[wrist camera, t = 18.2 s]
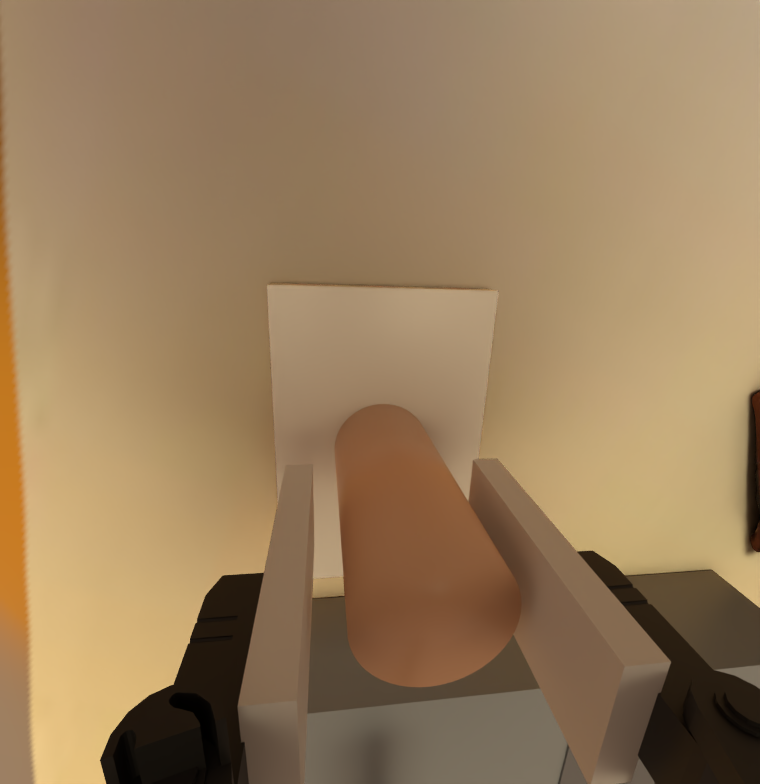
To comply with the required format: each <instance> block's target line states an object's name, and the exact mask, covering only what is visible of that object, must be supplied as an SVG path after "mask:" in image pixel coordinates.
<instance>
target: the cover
mask: <svg viewBox="0 0 760 784" xmlns="http://www.w3.org/2000/svg"><path fill="white" fill-rule="evenodd" d="M498 292H499V291H496V290H491V289H466V288H429V287H393V286H356V285H320V284H283V283H270V284H268V285H267V299H268V319H269V339H270V359H271V379H272V399H273V419H274V439H275V459H276V479H277V499H278V500H279V495H280V490H281V485H282V480H283V475H284V470H285V465H306V464H313V500H314V567H313V579H318V578H331V577H344V591H345V606H346V620H347V634H348V641H349V645H350V648H351V651H352V653H353V655H354V657H355V658H356V660H357V661H358V663H359V664H360V665H361V666H362V667H363V668H364V669H365V670H366V671H368V672H369V673H370V674H372V675H373V676H375V677H377V678H379V679H380V680H383V681H386V682H388V683H391V684H395V685H399V686H406V687H431V686H437V685H442V684H446V683H450V682H453V681H456V680H459V679H461V678H464V677H466V676H468V675H470V674H472V673H474V672H475V671H477V670H479V669H481V668H482V667H483V666H485V665H486V664H488V663H489V662H490V661H491V660H492V659H494V658H495V657H496V656H497V655H498V654H499V653H500V652H501V651H502V650H503V649H504V647H505V646H506V645H507V643H508V642H509V641H510V639H511V637H512V636H513V634H514V632H515V630H516V627H517V625H518V622H519V618H520V615H521V606H522V603H521V594H520V589H519V586H518V584H517V582H516V579H515V578H514V576H513V574H512V573H511V571H510V569H509V568H508V566H507V565H506V563H505V561H504V560H503V558H502V556H501V555H500V553H499V551H498V550H497V548H496V546H495V545H494V543H493V541H492V540H491V538H490V536H489V535H488V533H487V532H486V530H485V528H484V527H483V525H482V523H481V522H480V520H479V518H478V517H477V515H476V513H475V512H474V510H473V508H472V507H471V505H470V503H469V502H468V500H469V492H470V483H471V474H472V465H473V459H479V450H480V442H481V434H482V425H483V417H484V409H485V400H486V392H487V384H488V375H489V367H490V359H491V350H492V342H493V334H494V325H495V317H496V309H497V300H498Z"/></svg>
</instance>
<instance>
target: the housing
mask: <svg viewBox="0 0 760 784" xmlns="http://www.w3.org/2000/svg"><path fill="white" fill-rule="evenodd" d="M625 577H626V578H627V579H628V580H629V581H630V582H631V583H632V584H633V587H634V588H637V589H638V590H639V591H640V592H641V594H642V595H643V596H644V597H645V598H646V599H647V601H648V604H652V605H653V606H654V607H655V608H656V609H657V611H658V612H659V613H660V614H661V615H662V616H663V617H664V618H665V619H666V620H667V621H668V622H669V623H670V624H671V625H672V626H673V628H674V629H675V630H676V631H677V632H678V633H679V634H680V635H681V636H682V637H683V638H684V639H685V640H686V641H687V642H688V643H689V645H690V646H691V647H692V648H693V649H694V650H695V651H696V652H697V653H698V654H699V655H700V656H701V657H702V658H703V659H704V660H705V662H706V663H707V664H708V665H709V666H710V667H711V668H712V669H713V670H714V671H715V670H716V671H720V672H724V673H727V674H731V675H735V676H737V677H739V678H741V679H743V680H745V681H747V682H749V683H751V684H753V685H755V686H756V687H758V688H759V689H760V608H759V607H758V606H756V605H755V604H754V603H753V602H751V601H750V600H749V599H748V598H746V597H745V596H744V595H743V594H742V593H740V592H739V591H738V590H737V589H735V588H734V587H733V586H732V585H730V584H729V583H728V582H727V581H725V580H724V579H723V578H722V577H720V576H719V575H718V574H717V573H715V572H714V571H713V570H706V571H692V572H679V573H665V574H651V575H637V576H625ZM654 783H655V782H654V781H653V779H652V777H651V776H650V774H649V773H648V771H647V769H646V768H645V766H644V765H643V763H642V761H641V760H640V758H639V759H638V762H637V765H636V768H635V771H634V774H633V777H632V780H631V782H626V783H619V784H654ZM304 784H588V783H587V781H586V779H585V777H584V775H583V773H582V771H581V769H580V767H579V765H578V763H577V761H576V759H575V757H574V755H573V753H572V751H571V749H570V747H569V745H568V743H567V741H566V739H565V737H564V735H563V733H562V731H561V729H560V727H559V725H558V723H557V721H556V719H555V717H554V715H553V713H552V711H551V709H550V707H549V705H548V703H547V701H546V699H545V697H544V695H543V693H542V691H541V689H540V687H539V685H538V683H537V681H536V679H535V677H534V675H533V673H532V671H531V669H530V667H529V665H528V663H527V661H526V659H525V657H524V655H523V653H522V651H521V649H520V647H519V645H518V643H517V641H516V639H515V637H514V635H513V636H512V637H511V639H510V641H509V642H508V643H507V645H506V646H505V647H504V649H503V650H502V651H501V652H500V653H499V654H498V655H497V656H496V657H495V658H494V659H492V660H491V661H490V662H489V663H488V664H486V665H485V666H483V667H482V668H481V669H479V670H477V671H475V672H474V673H472V674H470V675H468V676H466V677H464V678H461V679H459V680H456V681H453V682H450V683H446V684H442V685H437V686H431V687H406V686H399V685H395V684H391V683H388V682H386V681H383V680H380V679H379V678H377V677H375V676H373V675H372V674H370V673H369V672H368V671H366V670H365V669H364V668H363V667H362V666H361V665H360V664H359V663H358V661H357V660H356V658H355V657H354V655H353V653H352V651H351V648H350V645H349V641H348V634H347V620H346V606H345V597H333V598H320V599H312V615H311V638H310V662H309V685H308V709H307V733H306V756H305V780H304Z"/></svg>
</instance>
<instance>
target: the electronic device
mask: <svg viewBox="0 0 760 784" xmlns="http://www.w3.org/2000/svg"><path fill="white" fill-rule="evenodd" d="M752 405H753V408H754V412H755V420H756V436H757V437H756V459H755V463H756V464H757V470H756V475H755V477H756V485H757V496H756V500H757V503H758V507H759V512H760V392H758V393H756V394H755V395H753V397H752ZM751 544H752V547H753V549H754V550H755V551H756V552H760V522H759V524H758V528H757V529H756V531H755V533H753V534H752V535H751Z"/></svg>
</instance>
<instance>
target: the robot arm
mask: <svg viewBox="0 0 760 784" xmlns="http://www.w3.org/2000/svg"><path fill="white" fill-rule="evenodd" d="M468 502H469V503H470V505H471V507H472V508H473V510H474V512H475V513H476V515H477V517H478V518H479V520H480V522H481V523H482V525H483V527H484V528H485V530H486V532H487V533H488V535H489V536H490V538H491V540H492V541H493V543H494V545H495V546H496V548H497V550H498V551H499V553H500V555H501V556H502V558H503V560H504V561H505V563H506V565H507V566H508V568H509V569H510V571H511V573H512V574H513V576H514V578H515V579H516V582H517V584H518V586H519V589H520V594H521V603H522V606H521V615H520V618H519V622H518V625H517V627H516V630H515V632H514V634H513V635H514V637H515V639H516V641H517V643H518V645H519V647H520V649H521V651H522V653H523V655H524V657H525V659H526V661H527V663H528V665H529V667H530V669H531V671H532V673H533V675H534V677H535V679H536V681H537V683H538V685H539V687H540V689H541V691H542V693H543V695H544V697H545V699H546V701H547V703H548V705H549V707H550V709H551V711H552V713H553V715H554V717H555V719H556V721H557V723H558V725H559V727H560V729H561V731H562V733H563V735H564V737H565V739H566V741H567V743H568V745H569V747H570V749H571V751H572V753H573V755H574V757H575V759H576V761H577V763H578V765H579V767H580V769H581V771H582V773H583V775H584V777H585V779H586V781H587V783H588V784H619V783H626V782H631V780H632V777H633V774H634V771H635V768H636V765H637V762H638V759H639V758H640V760H641V761H642V763H643V765H644V766H645V768H646V769H647V771H648V773H649V774H650V776H651V777H652V779H653V781H654V782H655V783H654V784H760V689H759V688H758V687H756V686H755V685H753V684H751V683H749V682H747V681H745V680H743V679H741V678H739V677H737V676H735V675H731V674H727V673H724V672H720V671H716V670H715V671H714V670H713V669H712V668H711V667H710V666H709V665H708V664H707V663H706V662H705V660H704V659H703V658H702V657H701V656H700V655H699V654H698V653H697V652H696V651H695V650H694V649H693V648H692V647H691V646H690V645H689V643H688V642H687V641H686V640H685V639H684V638H683V637H682V636H681V635H680V634H679V633H678V632H677V631H676V630H675V629H674V628H673V626H672V625H671V624H670V623H669V622H668V621H667V620H666V619H665V618H664V617H663V616H662V615H661V614H660V613H659V612H658V611H657V609H656V608H655V607H654V606H653V605H652V604H648V601H647V599H646V598H645V597H644V596H643V595H642V594H641V592H640V591H639V590H638V589H637V588H634V587H633V584H632V583H631V582H630V581H629V580H628V579H627V578H626V577H625V575H624V574H623V573H622V572H621V571H620V570H619V569H618V568H617V567H616V566H615V565H613V564H612V563H610V562H609V561H607V560H606V559H604V558H603V557H601V556H600V555H598V554H597V553H595V552H594V551H580V552H577V551H576V550H575V549H574V548H573V547H572V545H571V544H570V543H569V542H568V541H567V540H566V538H565V537H564V536H563V535H562V534H561V532H560V531H559V530H558V529H557V528H556V527H555V525H554V524H553V523H552V522H551V521H550V520H549V518H548V517H547V516H546V515H545V514H544V513H543V511H542V510H541V509H540V508H539V507H538V506H537V504H536V503H535V502H534V501H533V500H532V499H531V497H530V496H529V495H528V494H527V493H526V492H525V490H524V489H523V488H522V487H521V486H520V485H519V483H518V482H517V481H516V480H515V479H514V478H513V476H512V475H511V474H510V473H509V472H508V471H507V469H506V468H505V467H504V466H503V465H502V464H501V462H500V461H499V460H498V459H473V465H472V474H471V483H470V492H469V500H468ZM313 567H314V500H313V464H306V465H285V470H284V475H283V480H282V485H281V490H280V495H279V500H278V505H277V510H276V515H275V520H274V525H273V530H272V536H271V541H270V546H269V551H268V556H267V561H266V566H265V571H264V573H255V574H239V575H224V576H222V577H221V578H220V579H219V581H218V582H217V583H216V584H215V585H214V586H213V588H212V589H211V590H210V591H209V592H208V593H207V595H206V596H205V599H204V602H203V604H202V607H201V610H200V613H199V615H198V618H197V623H196V624H195V627H194V629H193V632H192V635H191V638H190V644H188V646H187V649H186V652H185V654H184V657H183V660H182V663H181V666H180V668H179V671H178V674H177V677H176V680H175V682H174V685H171V686H169V687H167V688H164V689H162V690H160V691H158V692H156V693H154V694H151V695H149V696H148V697H147V698H145V699H144V700H143V701H142V702H140V703H139V704H138V705H137V706H135V707H134V708H133V709H132V710H130V711H129V712H128V713H127V714H126V716H125V717H124V718H123V720H122V721H121V722H120V723H119V725H118V726H117V727H116V729H115V730H114V731H113V732H112V734H111V735H110V737H109V740H108V742H107V745H106V747H105V750H104V752H103V754H102V757H101V759H100V761H101V765H102V769H103V773H104V776H105V780H106V784H304V780H305V756H306V733H307V709H308V685H309V662H310V638H311V615H312V591H313Z"/></svg>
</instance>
